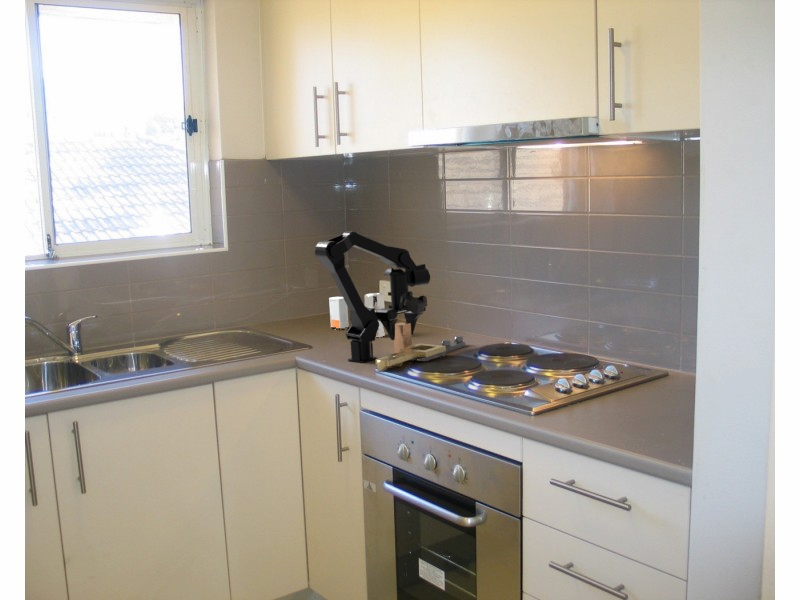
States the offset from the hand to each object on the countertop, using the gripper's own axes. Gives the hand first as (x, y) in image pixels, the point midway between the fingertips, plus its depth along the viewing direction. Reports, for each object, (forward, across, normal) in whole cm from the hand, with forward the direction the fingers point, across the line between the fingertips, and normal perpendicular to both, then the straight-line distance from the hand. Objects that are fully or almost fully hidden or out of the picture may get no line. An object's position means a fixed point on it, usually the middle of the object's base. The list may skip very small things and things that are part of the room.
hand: (402, 337), depth 257 cm
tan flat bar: (+5, -4, -11) cm, 13 cm away
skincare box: (+5, +23, +49) cm, 55 cm away
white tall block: (+5, +17, +26) cm, 31 cm away
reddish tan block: (+5, 0, 0) cm, 5 cm away
